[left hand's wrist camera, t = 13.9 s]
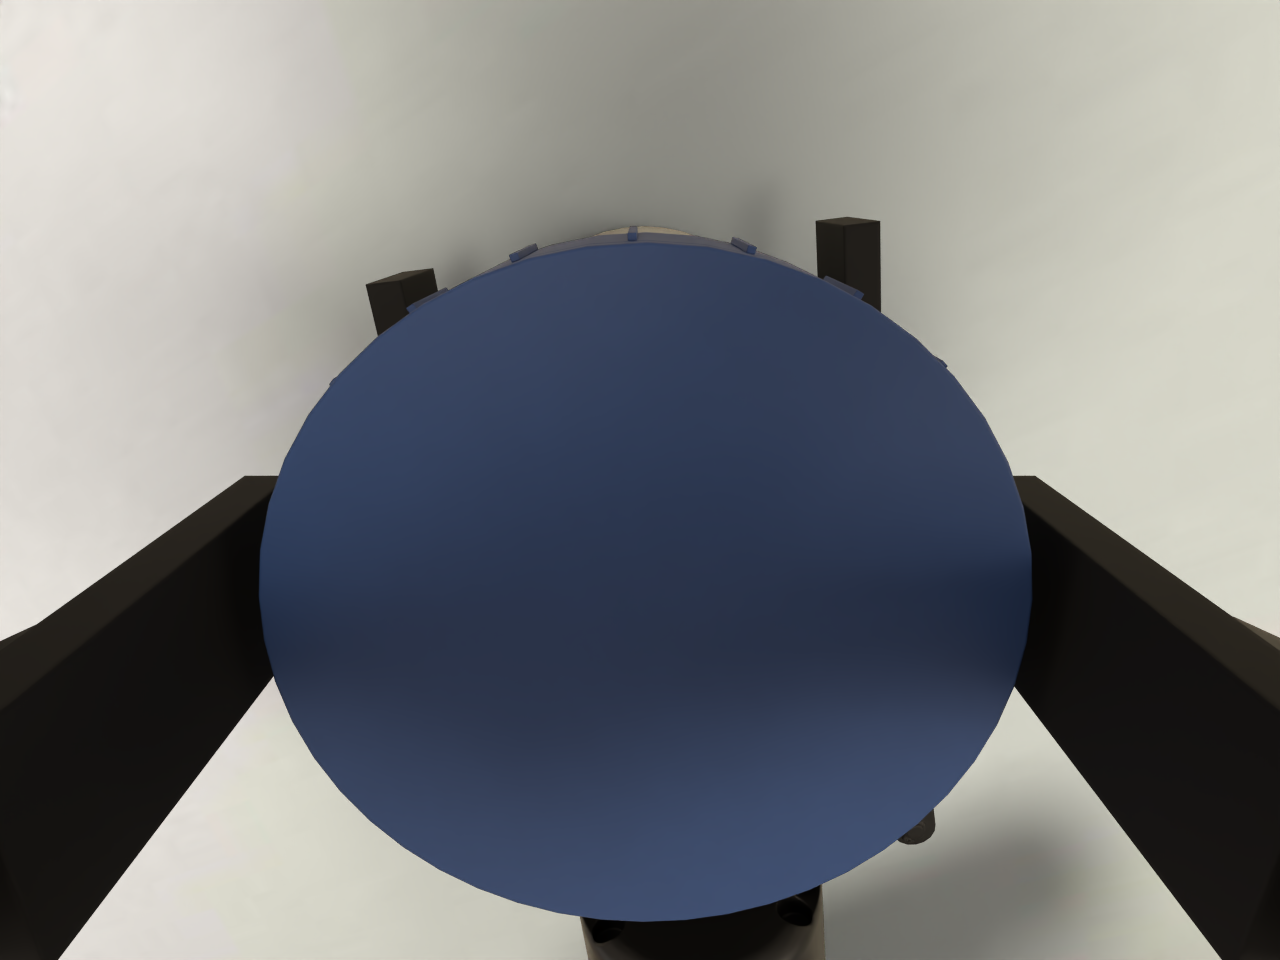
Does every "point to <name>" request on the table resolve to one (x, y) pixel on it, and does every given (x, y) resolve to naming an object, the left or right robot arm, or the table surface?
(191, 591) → the left robot arm
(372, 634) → the lid
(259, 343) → the table surface
